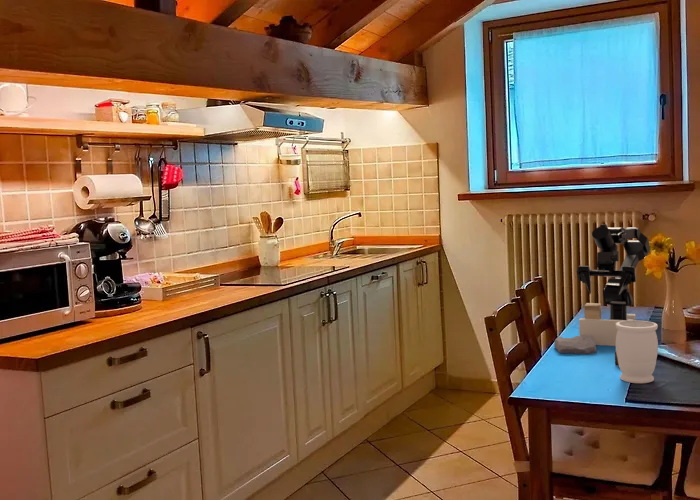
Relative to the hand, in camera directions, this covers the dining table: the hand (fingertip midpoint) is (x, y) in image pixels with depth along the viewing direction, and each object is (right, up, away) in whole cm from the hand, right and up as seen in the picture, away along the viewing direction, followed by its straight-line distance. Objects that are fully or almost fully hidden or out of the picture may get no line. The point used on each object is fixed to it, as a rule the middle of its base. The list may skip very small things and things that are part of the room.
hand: (604, 294), depth 247 cm
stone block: (-15, -17, -18) cm, 29 cm away
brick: (-5, -18, -35) cm, 39 cm away
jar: (-9, -20, -52) cm, 56 cm away
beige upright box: (-5, -15, -13) cm, 20 cm away
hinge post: (+3, -15, -17) cm, 23 cm away
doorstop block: (-6, -15, -8) cm, 18 cm away
